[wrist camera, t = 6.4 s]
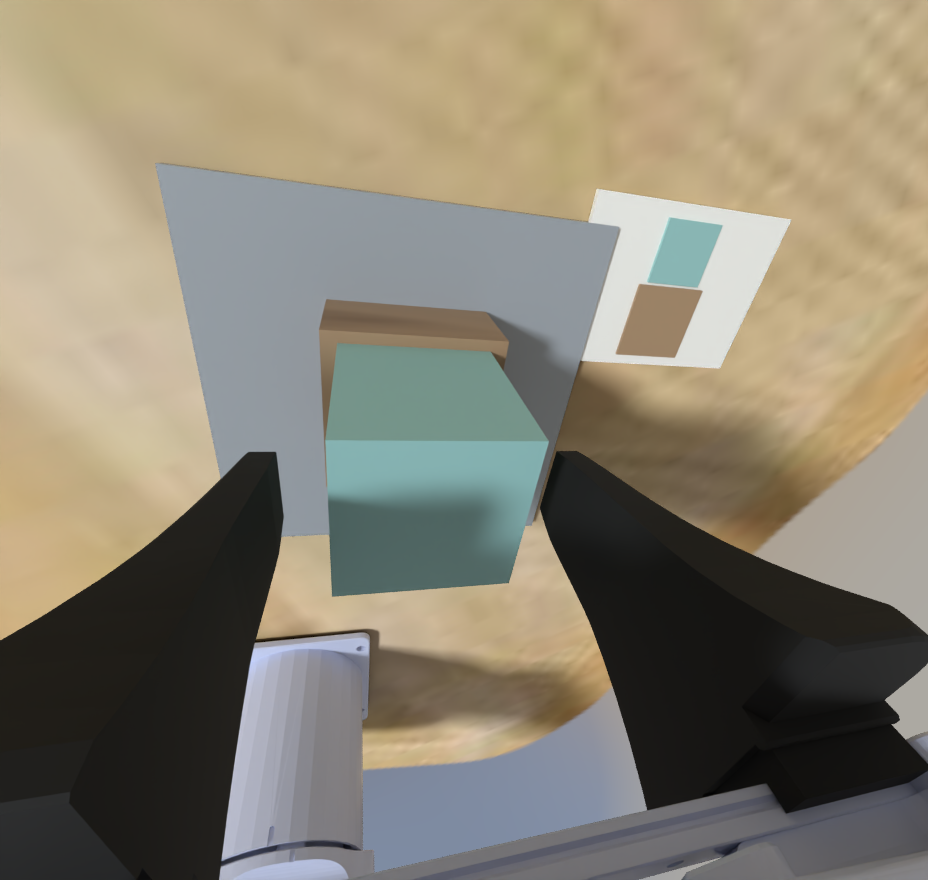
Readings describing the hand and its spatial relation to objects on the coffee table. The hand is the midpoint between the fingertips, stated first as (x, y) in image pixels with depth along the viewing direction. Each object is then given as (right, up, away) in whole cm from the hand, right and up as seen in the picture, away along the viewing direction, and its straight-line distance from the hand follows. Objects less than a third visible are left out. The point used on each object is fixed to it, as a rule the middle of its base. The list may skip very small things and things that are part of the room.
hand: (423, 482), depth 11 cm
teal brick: (-1, +2, +2) cm, 3 cm away
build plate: (-1, +3, +6) cm, 7 cm away
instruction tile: (+9, +7, +6) cm, 13 cm away
